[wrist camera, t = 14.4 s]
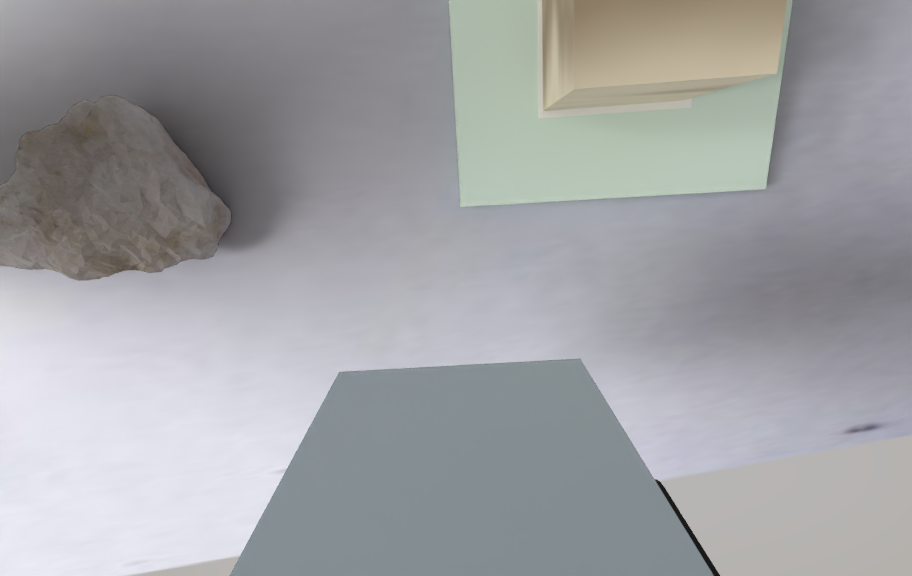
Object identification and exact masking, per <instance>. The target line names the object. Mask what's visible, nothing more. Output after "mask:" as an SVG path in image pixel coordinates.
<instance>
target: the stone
mask: <svg viewBox="0 0 912 576" xmlns="http://www.w3.org/2000/svg"><path fill="white" fill-rule="evenodd" d="M19 141H20V145H19V148H18V150H17V152H16V170H15V171H14V173H13V174H12V176H11V177H10V179H9V181H7V182H6V183H4V184H1V185H0V266H10V267H16V268H21V269H30V270H31V269H52V270H55V271H58V272H60V273H62V274H64V275H65V276H67V277H69V278H72V279H75V280H92V279H100V278H101V277H108V276H110V275H112V274H115V273H118V272H121V271H125V270H140V271H144V272H149V273H153V272H161V271H162V270H164V269H165V268H168V267H171V266H174V265H177V264H178V263H179V262H181V261H185V260H189V259H207V258H210V257H213V255H214V253H215V252H216V250H217V245H218V240H219V239H220V238H221V236H222V235H223V233H224V232H225V231H226V230H227V229H228V227H229V225H230V223H231V210H230V209H229V208H228V207H227V206H226V205H225V204H224V203H223V202H222V200H221V199H220V197H218V196H217V195H215V194H214V193H213V192H211V191H210V189H209V186H208V185H207V183H206V181H205V179H204V178H203V176H202V175H201V173H200V172H199V171H198V169H197V168H196V167H195V166H194V165H193V163H192V162H191V160H190V159H189V158H188V156H187V155H186V154H185V153H184V152H183V151H181V149H180V148H179V147H178V146H177V145H176V144H175V143H174V142H173V140H172V139H171V137H170V136H169V134H168V133H167V131H166V130H165V128H164V127H163V125H162V124H161V123H160V121H159V120H158V119H157V118H156V117H155V116H153V115H151V114H149V113H148V112H147V111H145V110H144V109H143V108H141V107H138V106H136V105H134V104H132V103H131V102H129V101H128V100H126V99H124V98H122V97H119V96H116V95H108V96H102V97H101V98H100V99H99V100H98V101H97V102H96V103H95V102H92V101H81V102H79V103H77V104H75V105H73V106H72V108H71V109H70V110H69V112H68V113H67V115H66V116H65V117H64V118H62V119H61V120H60V122H59V123H57V124H55V125H48V126H47V127H45V128H43V129H41V130H38V131H32V132H27V133H25V134H24V135H23V136H22V137H21V138H20V140H19Z"/></svg>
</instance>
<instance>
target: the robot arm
mask: <svg viewBox="0 0 912 576" xmlns="http://www.w3.org/2000/svg"><path fill="white" fill-rule="evenodd" d="M655 481H656V483H657V484H658V486H659V488H660V489H661V491H662V492H663V494H664V496H665V497H666V499H667V501H668V502H669V504H670V505H671V507H672V509H673V510H674V512H675V514H676V515H677V517H678V518H679V520H680V522H681V523H682V525H683V527H684V528H685V530H686V531H687V533H688V535H689V536H690V538H691V540H692V541H693V543H694V544H695V546H696V548H697V549H698V551H699V553H700V554H701V556H702V557H703V559H704V561H705V562H706V564H707V566H708V567H709V569H710V570H711V572H712V574H713V575H714V576H720V575H719V573H718V572H717V570H716V569H715V567H714V565H713V564H712V562H711V561H710V559H709V557H708V556H707V554H706V553H705V551H704V550H703V548H702V547H701V545H700V543H699V542H698V540H697V539H696V537H695V535H694V534H693V532H692V531H691V529H690V527H689V526H688V524H687V523H686V521H685V519H684V518H683V517H682V515H681V514H680V512H679V510H678V508H677V507H676V505H675V503H674V502H673V500H672V499H671V497H670V496H669V494H668V492H667V491H666V489H665V488H664V486H663V485H662V484H661V482H660V481H658V480H655Z"/></svg>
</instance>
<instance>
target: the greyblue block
mask: <svg viewBox="0 0 912 576" xmlns="http://www.w3.org/2000/svg"><path fill="white" fill-rule="evenodd" d="M230 576H714V575H713V574H712V572H711V570H710V569H709V567H708V566H707V564H706V562H705V561H704V559H703V557H702V556H701V554H700V553H699V551H698V549H697V548H696V546H695V544H694V543H693V541H692V540H691V538H690V536H689V535H688V533H687V531H686V530H685V528H684V527H683V525H682V523H681V522H680V520H679V518H678V517H677V515H676V514H675V512H674V510H673V509H672V507H671V505H670V504H669V502H668V501H667V499H666V497H665V496H664V494H663V492H662V491H661V489H660V488H659V486H658V484H657V483H656V481H655V480H654V478H653V476H652V475H651V473H650V471H649V470H648V468H647V467H646V465H645V463H644V462H643V460H642V458H641V457H640V455H639V454H638V452H637V450H636V449H635V447H634V445H633V444H632V442H631V441H630V439H629V437H628V436H627V434H626V432H625V431H624V429H623V428H622V426H621V424H620V423H619V421H618V419H617V418H616V416H615V415H614V413H613V411H612V410H611V408H610V406H609V405H608V403H607V402H606V400H605V398H604V397H603V395H602V394H601V392H600V390H599V389H598V387H597V385H596V384H595V382H594V381H593V379H592V377H591V376H590V374H589V372H588V371H587V369H586V368H585V366H584V364H583V363H582V361H581V359H566V360H548V361H530V362H512V363H494V364H476V365H458V366H440V367H422V368H404V369H386V370H367V371H349V372H339V373H338V375H337V377H336V379H335V381H334V383H333V385H332V386H331V388H330V390H329V392H328V394H327V396H326V398H325V399H324V401H323V403H322V405H321V407H320V409H319V411H318V412H317V414H316V416H315V418H314V420H313V422H312V424H311V425H310V427H309V429H308V431H307V433H306V435H305V437H304V438H303V440H302V442H301V444H300V446H299V448H298V450H297V451H296V453H295V455H294V457H293V459H292V461H291V463H290V464H289V466H288V468H287V470H286V472H285V474H284V476H283V477H282V479H281V481H280V483H279V485H278V487H277V489H276V491H275V492H274V494H273V496H272V498H271V500H270V502H269V504H268V505H267V507H266V509H265V511H264V513H263V515H262V517H261V518H260V520H259V522H258V524H257V526H256V528H255V530H254V531H253V533H252V535H251V537H250V539H249V541H248V543H247V544H246V546H245V548H244V550H243V552H242V554H241V556H240V557H239V559H238V561H237V563H236V565H235V567H234V569H233V570H232V573H231V574H230Z"/></svg>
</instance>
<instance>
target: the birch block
mask: <svg viewBox="0 0 912 576" xmlns="http://www.w3.org/2000/svg"><path fill="white" fill-rule="evenodd" d="M786 3H787V0H542V49H543V111H549V110H562V109H576V108H589V107H602V106H616V105H629V104H642V103H655V102H669V101H682V100H686V99H689V98H693V97H696V96H700V95H703V94H707V93H710V92H714V91H717V90H721V89H724V88H728V87H731V86H735V85H738V84H742V83H745V82H749V81H752V80H756V79H759V78H763V77H766V76H770V75H773V74H777V69H778V62H779V55H780V47H781V40H782V33H783V25H784V18H785V11H786Z"/></svg>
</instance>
